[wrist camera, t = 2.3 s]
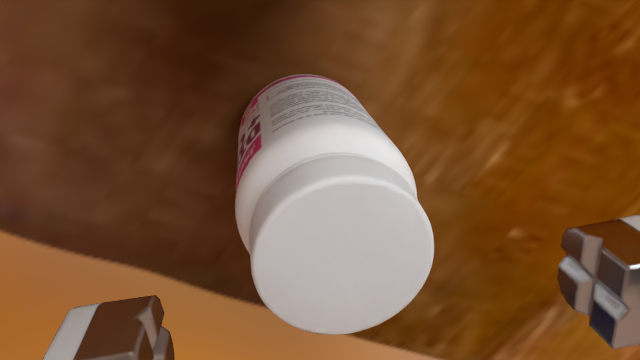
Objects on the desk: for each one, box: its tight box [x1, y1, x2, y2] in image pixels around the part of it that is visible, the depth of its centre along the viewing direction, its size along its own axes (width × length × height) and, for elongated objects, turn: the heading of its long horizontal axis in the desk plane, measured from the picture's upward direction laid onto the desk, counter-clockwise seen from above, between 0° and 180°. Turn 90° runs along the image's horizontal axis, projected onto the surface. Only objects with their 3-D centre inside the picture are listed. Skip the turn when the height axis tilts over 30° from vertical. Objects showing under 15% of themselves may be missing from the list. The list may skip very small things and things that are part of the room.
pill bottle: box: [235, 74, 434, 335], centre depth 14 cm, size 5×5×8 cm
